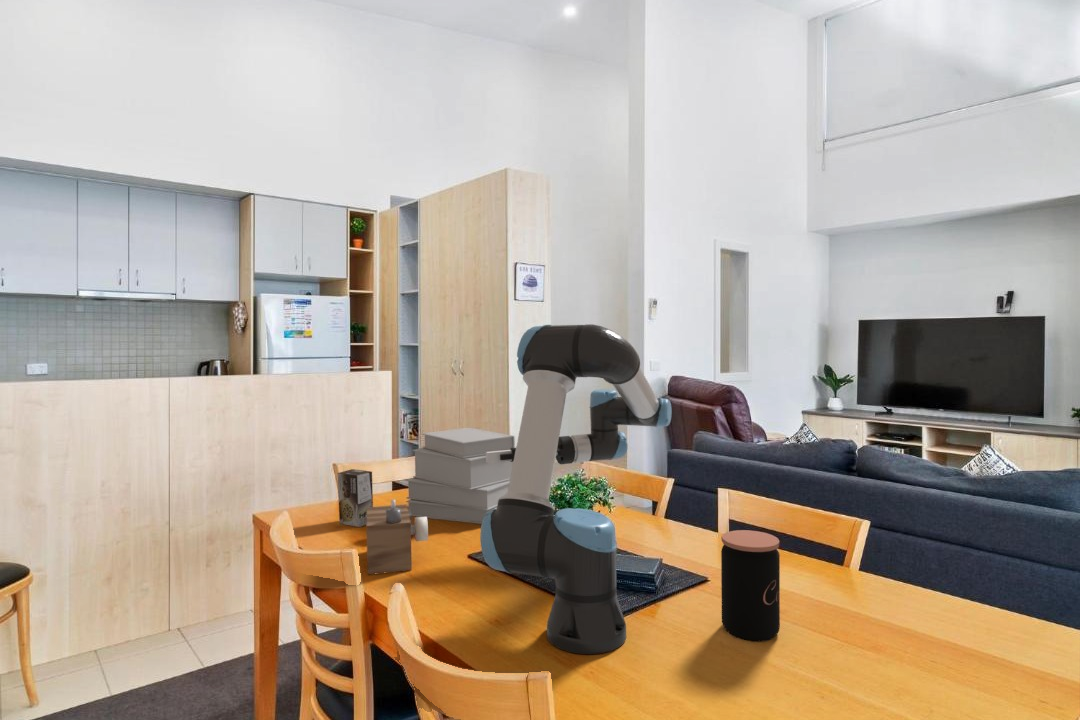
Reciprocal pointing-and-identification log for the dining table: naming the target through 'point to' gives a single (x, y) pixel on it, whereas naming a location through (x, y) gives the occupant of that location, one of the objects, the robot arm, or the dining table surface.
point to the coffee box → (354, 496)
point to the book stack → (459, 475)
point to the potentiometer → (393, 514)
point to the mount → (388, 541)
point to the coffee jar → (750, 585)
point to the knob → (420, 529)
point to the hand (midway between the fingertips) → (487, 457)
